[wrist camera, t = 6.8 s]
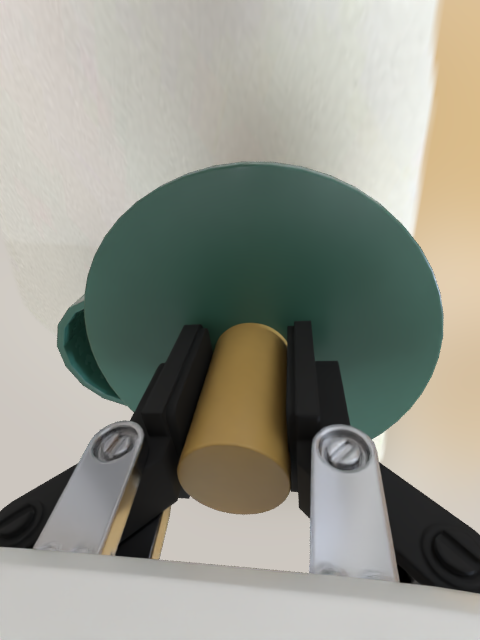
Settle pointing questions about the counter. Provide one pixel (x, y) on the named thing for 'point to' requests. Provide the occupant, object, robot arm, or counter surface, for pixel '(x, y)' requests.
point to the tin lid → (262, 312)
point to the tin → (82, 352)
